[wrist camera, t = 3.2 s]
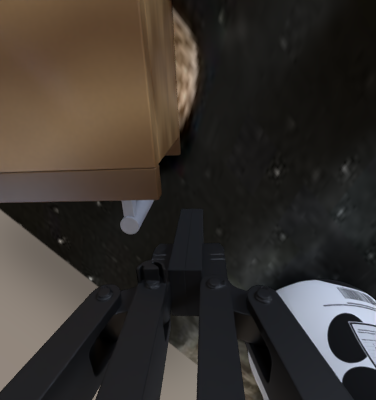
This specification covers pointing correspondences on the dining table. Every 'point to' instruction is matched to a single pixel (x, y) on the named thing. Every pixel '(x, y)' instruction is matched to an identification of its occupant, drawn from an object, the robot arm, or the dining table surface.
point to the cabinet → (86, 99)
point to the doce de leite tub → (336, 330)
